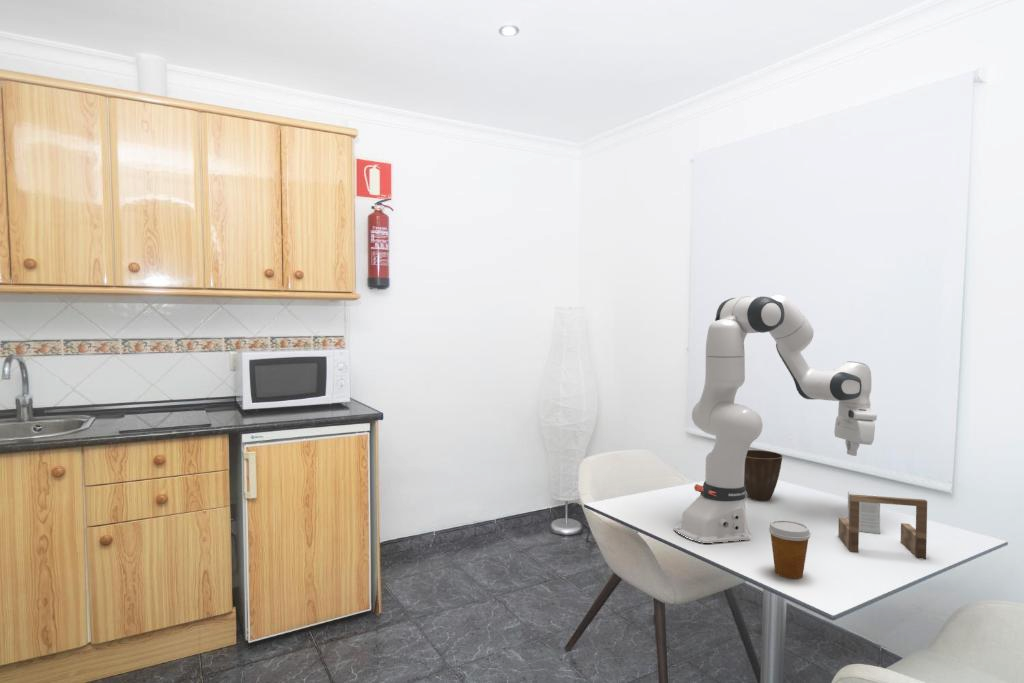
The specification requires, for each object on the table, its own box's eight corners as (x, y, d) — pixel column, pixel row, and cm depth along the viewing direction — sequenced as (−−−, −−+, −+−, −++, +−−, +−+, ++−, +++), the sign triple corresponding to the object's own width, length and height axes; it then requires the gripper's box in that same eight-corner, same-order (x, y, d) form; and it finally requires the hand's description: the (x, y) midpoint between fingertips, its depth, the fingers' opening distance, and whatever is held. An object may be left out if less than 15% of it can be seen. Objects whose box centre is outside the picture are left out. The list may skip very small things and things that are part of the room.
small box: (877, 528, 177) (877, 494, 177) (880, 534, 172) (880, 499, 172) (847, 524, 180) (847, 491, 180) (849, 530, 175) (849, 495, 175)
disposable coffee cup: (791, 584, 138) (791, 535, 138) (759, 569, 147) (760, 522, 146) (819, 577, 142) (819, 529, 142) (786, 563, 151) (787, 517, 150)
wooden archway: (838, 536, 170) (839, 484, 169) (908, 542, 165) (909, 489, 165) (850, 551, 158) (851, 495, 158) (926, 559, 153) (927, 501, 153)
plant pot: (729, 497, 208) (729, 453, 208) (748, 489, 218) (748, 447, 218) (770, 507, 197) (771, 460, 197) (788, 498, 207) (789, 454, 207)
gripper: (830, 409, 197) (828, 449, 197) (857, 413, 177) (855, 459, 177) (850, 410, 197) (848, 451, 196) (879, 415, 176) (877, 461, 176)
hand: (851, 455), depth 186 cm, fingers closed
